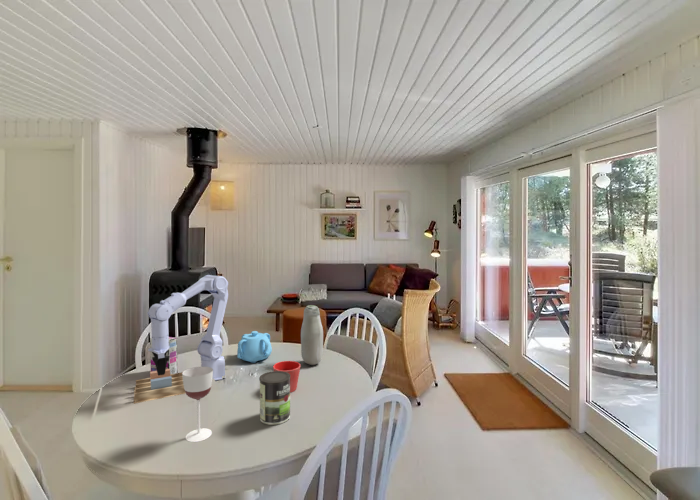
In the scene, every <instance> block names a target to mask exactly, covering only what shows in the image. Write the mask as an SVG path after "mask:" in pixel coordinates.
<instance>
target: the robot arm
mask: <svg viewBox="0 0 700 500" xmlns="http://www.w3.org/2000/svg"><path fill="white" fill-rule="evenodd" d="M228 287H229V281H228V280H227V279H226V277H225V276H222V275H212V274H206V275H204V276H203V277H200V278H199V280H198V281H196V282H195V283H193V284H191V285H190V286H189V287H187V288H186V289H185V290H184V291H182V292H172V293H171V294H170V295H171V296H168V297H167V298H165V299H164V300H163V299H161V300H160V301H159V303H154V304H152V305H151V306H150V307H149V309H148V311H147V316H148V317H149V319H150V323H151V324H150V327H151V328H150V329H151V333H150V334H151V335H150V336H151V338H152V348H147V351H148V352H150V351H152V353H153V355H154V357H152V360H153V361H154V363H155V365H156V369H157V373H158V376H159V375H164V374H165V370H166V365H167V362H168V360H169V357H170V356H166V354H167V351H168V349H169V337H170V336H169V319H170V317H171V316H172V314H173V313H175V312H176V311H177V310H179V309H180V308H182V307H183V306H185V305H186V303H187V300H189V299H191V298H192V297H194V296H196V295H198V294H199V293H201V292H203V291H208V292H209V293H210V294H211V295H212V297H213V301H212V302H213V303H212V306H211V307H212V308H211V311H210V316H209V320H208V325H207V329H206V333H205V335H204V336H202V337H201V340H200V342H199V344H198V346H197V349H196V351H197V353H198V354H199V355H200V367H210V368H212V369H213V378H212V380H215V382H216V381H221V380H223V379H222V376H224V375H225V376H226V362H225V361H226V360H225V357H224V355H222V354H223V340H222V338H221V336H220V335H221V330H222V326H223V322H224V316H225V313H226V308H227V304H228V299H229V291H228Z"/></svg>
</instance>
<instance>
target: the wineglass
mask: <svg viewBox="0 0 700 500" xmlns="http://www.w3.org/2000/svg"><path fill="white" fill-rule="evenodd" d="M182 372H183V373H182V376H183V385H184V389H185V393H186V396H187V397H189V398H190V399H193V400H196V410H197V411H196V412H197V413H196V414H197V415H196V417H197V418H196V419H197V421H196V422H197V426H196V427H197V428H196V429H194V430H191V431H190V432H188V433H187V434H186V435H185V440H186V441H188V442H191V443H194V442H202V441H204V440H207V439H208V438H209V437H211V436H212V434H213V432H212V430H211V429H210V428H206V427H205V428H204V427H203V428H201V402H200V401H201V399H203V398H205V397H206V396H207V395H208V394H210V392H211V389H212V385H213V379H212V378H213V369H212V368H210V367H201V366H196V367H191V368H188V369H185V370H184V371H182Z"/></svg>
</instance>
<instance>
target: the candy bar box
mask: <svg viewBox="0 0 700 500" xmlns="http://www.w3.org/2000/svg"><path fill="white" fill-rule="evenodd" d="M149 347H150V348H152V337H150V339H149ZM149 353H150V355H149V357H150V359H149V360H150V372H152V371H157V369H156V365H155V363H154V361H153V360H152V357H154V355H153V353H152V351H149ZM166 356H170V357H169V360H168V362H167V365H166V369H170V374H175V373H179V372H178V371H179V370H178V338H177V337H172V336H169V349H168V351H167V354H166Z"/></svg>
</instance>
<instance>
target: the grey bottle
mask: <svg viewBox="0 0 700 500" xmlns="http://www.w3.org/2000/svg"><path fill="white" fill-rule="evenodd" d="M300 347H301V348H300V353H301V354H300V355H301V357H302V360H303V362H304V363H306V364H307V365H311V366H315V365H317V364H319V363H320V362H321V361H322V359H323V355H324V354H323V353H324V329H323V325H322V320H321V313H320V308H319V307H318V306H316V305H314V304H310V305H309V304H308V305H306V307H304V310H303V320H302V324H301V329H300Z"/></svg>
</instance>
